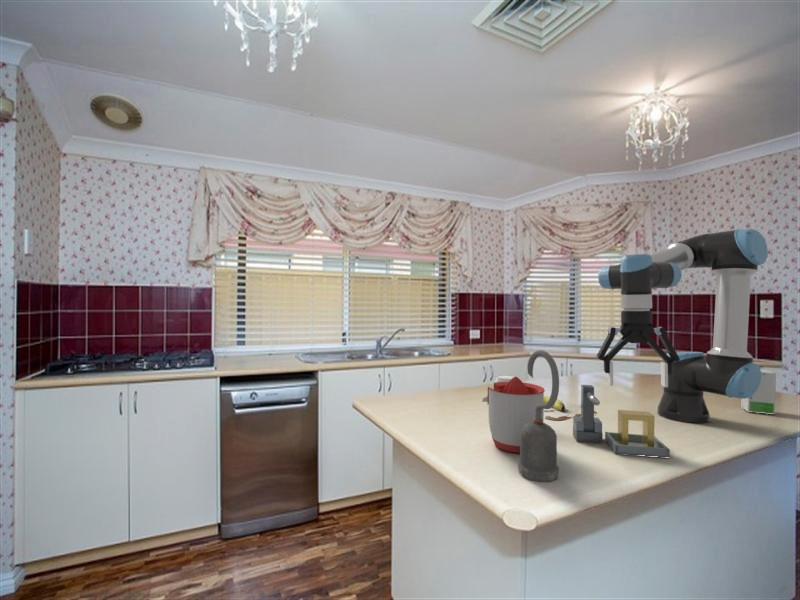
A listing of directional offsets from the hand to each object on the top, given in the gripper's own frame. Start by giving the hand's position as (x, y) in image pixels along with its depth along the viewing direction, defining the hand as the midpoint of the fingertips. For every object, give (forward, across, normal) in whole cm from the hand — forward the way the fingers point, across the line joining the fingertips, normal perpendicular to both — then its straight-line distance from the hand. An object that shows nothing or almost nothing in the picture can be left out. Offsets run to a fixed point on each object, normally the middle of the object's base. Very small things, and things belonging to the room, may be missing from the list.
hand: (637, 385), depth 113 cm
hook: (+17, +28, +25) cm, 41 cm away
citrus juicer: (+17, +34, +7) cm, 39 cm away
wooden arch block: (+17, +1, +1) cm, 17 cm away
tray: (+18, +1, +1) cm, 18 cm away
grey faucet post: (+18, +12, 0) cm, 21 cm away
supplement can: (+18, +35, -17) cm, 43 cm away
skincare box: (+20, -56, -51) cm, 78 cm away
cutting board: (+19, +20, -40) cm, 49 cm away
